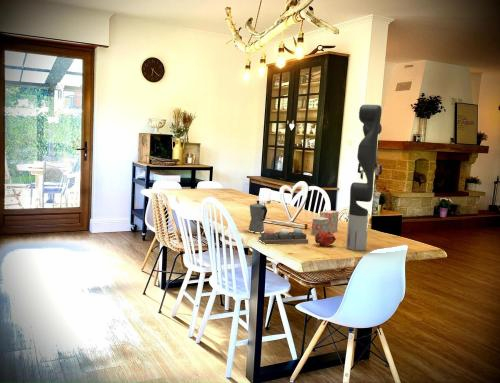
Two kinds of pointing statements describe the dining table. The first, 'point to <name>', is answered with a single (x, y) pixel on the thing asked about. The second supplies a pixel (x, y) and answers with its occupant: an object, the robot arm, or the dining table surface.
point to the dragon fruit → (324, 238)
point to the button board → (284, 238)
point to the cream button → (283, 231)
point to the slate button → (297, 231)
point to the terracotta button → (269, 232)
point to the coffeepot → (257, 217)
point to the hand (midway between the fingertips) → (369, 179)
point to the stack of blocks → (325, 222)
